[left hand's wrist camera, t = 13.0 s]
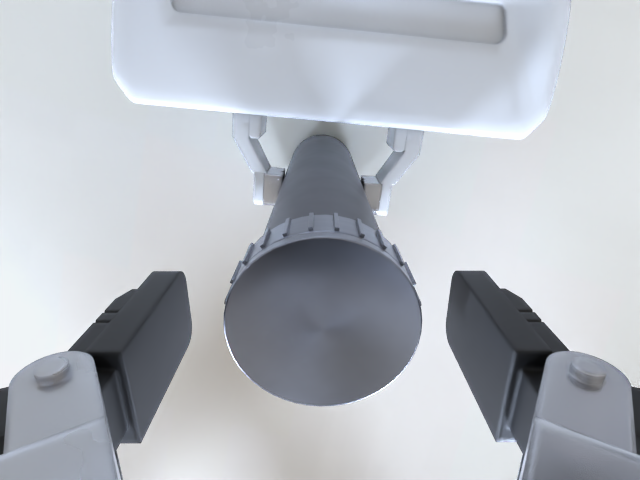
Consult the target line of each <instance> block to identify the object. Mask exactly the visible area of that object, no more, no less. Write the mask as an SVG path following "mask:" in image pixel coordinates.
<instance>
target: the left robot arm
mask: <svg viewBox="0 0 640 480" xmlns="http://www.w3.org/2000/svg"><path fill="white" fill-rule="evenodd" d="M191 333H192V320H191V313H190V305H189V298H188V291H187V283H186V278H185V275H184V273H183V272H182V271H154V272H152V273H151V274H150V275H149V276H148V278H147V279H146V280H145V281H144V282H143V283H142V285H141V286H140V287H139V288H138V289H132V290H130V291H128V292H127V293H125V294H123V295H122V296H120V297H118V298H116V299H115V300H114V301H113V302H112V303H111V304H110V306H109V307H108V308H107V309H106V310H105V313H102V314H101V315H100V316H99V317H98V319H97V320H96V323H93V324H92V325H91V326H90V327H89V328H88V329H87V331H86V332H85V333H84V334H83V335H82V336H81V337H80V338H79V339H78V340H77V341H76V343H75V344H74V345H73V346H72V347H71V348H70V349H69V350H68V351H66V352H60V353H56V354H52V355H49V356H46V357H43V358H41V359H38V360H36V361H34V362H32V363H31V364H29V365H27V366H26V367H24V368H23V369H22V370H20V371H19V372H18V373H17V374H16V375H15V376H14V377H13V379H12V380H11V382H10V384H9V387H6V388H2V389H0V480H123V477H122V472H121V468H120V463H119V459H118V455H117V451H116V450H117V448H118V446H119V444H120V443H141V442H142V440H143V438H144V436H145V434H146V431H147V429H148V427H149V425H150V423H151V421H152V419H153V417H154V415H155V413H156V411H157V409H158V407H159V405H160V403H161V401H162V399H163V397H164V395H165V393H166V391H167V388H168V386H169V384H170V382H171V380H172V378H173V376H174V374H175V372H176V370H177V368H178V366H179V364H180V362H181V360H182V358H183V356H184V354H185V352H186V350H187V348H188V345H189V343H190V339H191ZM446 334H447V339H448V343H449V345H450V347H451V349H452V351H453V353H454V356H455V358H456V360H457V362H458V364H459V366H460V368H461V370H462V372H463V374H464V376H465V378H466V380H467V383H468V385H469V387H470V389H471V391H472V393H473V395H474V397H475V399H476V401H477V403H478V405H479V407H480V410H481V412H482V414H483V416H484V418H485V420H486V422H487V424H488V426H489V428H490V430H491V432H492V434H493V437H494V439H495V441H496V442H517V444H518V446H519V447H520V449H521V451H522V453H523V455H522V459H521V463H520V468H519V472H518V477H517V480H640V388H636V387H631V384H630V382H629V380H628V379H627V377H626V376H625V375H624V374H623V373H622V372H621V371H620V370H618V369H617V368H616V367H614V366H613V365H611V364H609V363H608V362H606V361H604V360H602V359H599V358H597V357H594V356H591V355H588V354H584V353H580V352H574V351H569V350H568V349H567V347H566V346H565V345H564V344H563V343H562V342H561V341H560V340H559V339H558V338H557V336H556V335H555V334H554V333H553V332H552V331H551V330H550V329H549V328H548V327H547V325H546V324H545V323H544V322H541V319H540V318H539V317H538V316H537V314H536V313H535V312H532V309H531V308H530V307H529V306H528V305H527V303H526V302H525V301H524V300H523V299H522V298H520V297H519V296H517V295H515V294H513V293H512V292H510V291H508V290H507V289H500V288H499V287H498V286H497V285H496V283H495V282H494V281H493V280H492V279H491V278H490V276H489V275H488V274H487V273H486V272H485V271H455V272H454V274H453V276H452V281H451V288H450V296H449V303H448V311H447V319H446Z"/></svg>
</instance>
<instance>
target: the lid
mask: <svg viewBox="0 0 640 480" xmlns="http://www.w3.org/2000/svg"><path fill="white" fill-rule="evenodd" d="M230 283H232V285H231V288H230V290H229V292H228V294H227V297H226V299H225V303H224V304H226V305H225V310H224V332H225V337H226V341H227V344H228V347H229V350H230V352H231V354H232V356H233V358H234V360H235V361H236V363H237V364H238V366H239V367H240V369H241V370H242V371H243V372H244V373H245V375H246V376H247V377H249V378H250V379H251V380H252V381H253V382H254V383H255V384H257V385H258V386H259V387H261V388H262V389H264V390H265V391H267V392H269V393H271V394H272V395H274V396H277V397H279V398H281V399H284V400H287V401H290V402H294V403H298V404H303V405H310V406H335V405H343V404H347V403H352V402H355V401H358V400H361V399H364V398H367V397H369V396H371V395H373V394H375V393H377V392H378V391H380V390H382V389H383V388H385V387H386V386H388V385H389V384H390V383H391V382H393V381H394V380H395V379H396V378H397V377H398V376H399V375H400V374H401V373H402V372H403V371H404V369H405V368H406V367H407V365H408V364H409V362H410V361H411V359H412V357H413V355H414V354H415V351H416V348H417V346H418V343H419V339H420V335H421V328H422V313H421V307H420V306H421V301H420V299H419V297H418V295H417V292H416V290H415V288H414V286H413V285H416V282H415V280H414V278H413V276H412V274H411V271H410V269H409V267H408V265H407V263H406V262H405V263H404V261H403V259H402V257H401V255H400V252H399V250H398V248H397V246H396V245H395V244H394V245H391V244H390V242H389V241H387V240H386V239H385V238H384V237H383V235H382V232H381V231H380V230H379V229H377V231H375V230H374V229H372V228H371V227H369V226H367V225H365V224H363V223H362V222H361V219H358V218H357V220H356V221H355V220H353V219H350V218H346V217H341V216H338V213H334V214H333V215H314V213H313V212H312V213H309V216H304V217H300V218H296V219H292V220H291V219H290V218H287V219H286V221H285V223H282V224H280V225H278V226H277V227H275V228H273V229H271V230H270V229H269V228H268V229H266V230H265V233H264V235H263V236H262V237H261V238H260V239H259V240H258V241H257V242H256V243H255V244H253V243H251V244H250V245H249V247H248V250H247V252H246V254H245V257H244V259H243V261H239V263H238V266H237V268H236V270H235V272H234V275H233V277H232V279H231V281H230Z"/></svg>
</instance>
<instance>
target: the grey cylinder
mask: <svg viewBox="0 0 640 480" xmlns="http://www.w3.org/2000/svg"><path fill="white" fill-rule="evenodd" d="M312 212H313V213H314V215H333V214H334V213H338V216H341V217H346V218H350V219H353V220H355V221H356V220H357V218H358V219H361V222H362V223H363V224H365V225H367V226H369V227H371V228H372V229H374V230H375V231H377V229H379V228H378V225H377V223H376V220H375V217H374V215H373V212H372V210H371V207H370V204H369V202H368V199H367V196H366V194H365V191H364V189H363V186H362V183H361V181H360V178H359V176H358V173H357V170H356V168H355V165H354V162H353V160H352V157H351V155H350V152H349V151H348V149H347V147H346V146H345V145H344V144H343V143H342V142H341V141H339V140H338V139H336V138H334V137H331V136H328V135H316V136H312V137H309V138H307V139H306V140H304V141H303V142H302V143H300V144H299V145H298V147H297V148H296V149H295V151H294V153H293V156H292V159H291V161H290V164H289V167H288V169H287V172H286V175H285V178H284V180H283V183H282V186H281V189H280V191H279V194H278V197H277V199H276V202H275V205H274V208H273V210H272V213H271V216H270V219H269V221H268V224H267V227H266V229H268V228H269V229H270V230H271V229H273V228H275V227H277V226H278V225H280V224H282V223H285V221H286V219H287V218H290V219H291V220H292V219H296V218H300V217H304V216H309V213H312ZM266 229H265V230H266ZM264 233H265V232H264Z"/></svg>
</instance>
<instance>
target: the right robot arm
mask: <svg viewBox="0 0 640 480" xmlns="http://www.w3.org/2000/svg"><path fill="white" fill-rule="evenodd" d="M570 7H571V0H113V2H112V26H111V46H112V70H113V76H114V79H115V81H116V83H117V84H118V85H119V87H120V88H121V89H122V91H123V92H124V93H125V95H126V96H127V97H128V98H129V99H130V100H131V101H132V102H134V103H138V104H147V105H158V106H168V107H179V108H189V109H200V110H211V111H221V112H232V113H233V139H234V140H235V142H236V144H237V146H238V148H239V150H240V151H241V153H242V155H243V157H244V159H245V161H246V162H247V164H248V166H249V168H250V170H251V172H254V194H253V201H254V204H259V205H273V206H274V205H275V202H276V199H277V197H278V194H279V191H280V189H281V186H282V183H283V180H284V178H285V168H277V167H270V164H269V162H268V159H267V157H266V155H265V153H264V151H263V149H262V147H261V145H260V143H259V141H258V139H259V138H260V137H261V136H262V135H263V134H264V133H265V132H266V122H267V116H274V117H285V118H295V119H306V120H316V121H327V122H337V123H348V124H359V125H369V126H380V127H389V129H388V136H387V144H388V145H389V146H390V147H391V148H392V149H393V150H394V151H393V153H392V154H391V155H390V157H389V158H388V159H387V161H386V162H385V163H384V165H383V166H382V168H381V169H380V170H379V172H378V173H377V174H376V176H363V175H361V180H360V181H361V183H362V186H363V189H364V191H365V194H366V196H367V199H368V202H369V204H370V207H371V210H372V212H373V215H384V216H386V215H387V212H388V208H389V202H390V196H391V189H392V185H395V184H396V183H397V182H398V180H399V179H400V178H401V177H402V175H403V174H404V173H405V172H406V171H407V169H408V168H409V167H410V166H411V164H412V163H413V162H414V161H415V160H416V158H417V157H418V156H419V155H420V150H421V144H422V139H423V134H424V131H433V132H443V133H454V134H464V135H475V136H485V137H496V138H507V139H518V140H519V139H523V138H525V137H526V136H528V135H529V134H530V133H531V132H532V131H533V130H534V129H535V128H536V127H537V126H539V125H540V124H541V123H542V122H543V120H544V119H545V117H546V115H547V113H548V111H549V108H550V105H551V102H552V98H553V94H554V91H555V87H556V83H557V79H558V75H559V70H560V66H561V62H562V57H563V51H564V46H565V41H566V35H567V29H568V23H569V16H570Z"/></svg>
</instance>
